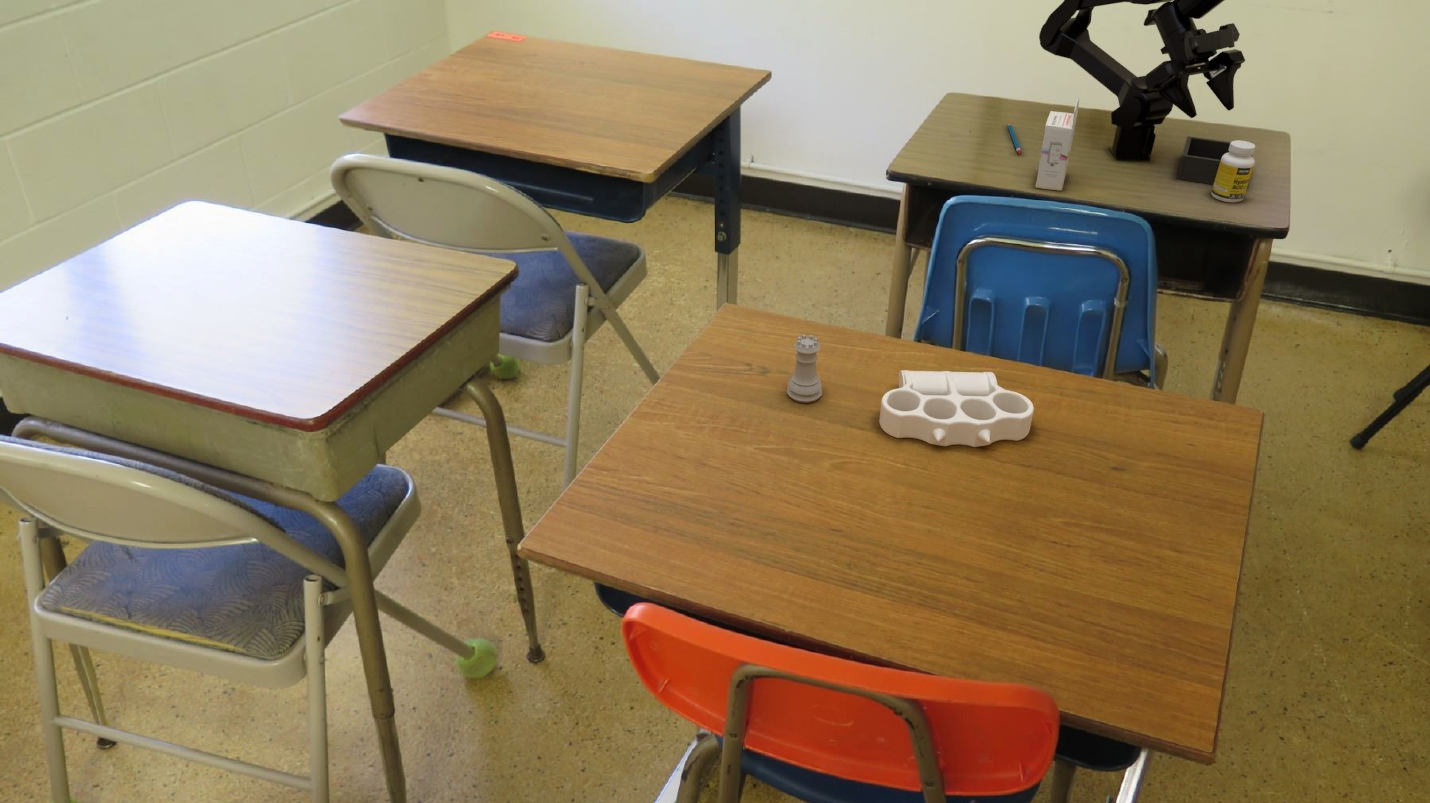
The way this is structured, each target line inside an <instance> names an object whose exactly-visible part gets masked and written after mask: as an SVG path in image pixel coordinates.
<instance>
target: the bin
mask: <svg viewBox="0 0 1430 803" xmlns="http://www.w3.org/2000/svg"><path fill="white" fill-rule="evenodd" d="M1231 142H1232V141H1225V140H1217V139H1211V138H1203V137H1196V136H1189V135H1188V136H1187V137H1186V141H1185V144H1184V148H1183V152H1182V155H1181V158H1180V163H1179V167H1178V171H1177V174H1176V180H1179V181H1187V182H1193V183H1200V184H1207V185H1212V186H1213V185H1214V181H1215V178H1216V175H1217V171H1218V168H1219V164H1220V161H1221V158H1222V156H1223V155H1224V154H1226V153H1228V152H1229V146H1230V143H1231ZM1251 156H1252V157H1253V155H1251Z"/></svg>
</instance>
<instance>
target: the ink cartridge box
mask: <svg viewBox="0 0 1430 803" xmlns="http://www.w3.org/2000/svg"><path fill="white" fill-rule="evenodd" d="M1079 105H1080V97H1078V98H1077V100H1076V103H1075V107H1074V109H1073V113H1072V112H1065V111H1053V110H1051V111H1050V112H1049V114H1048V117H1047V119H1046V122H1045V126H1044V132H1043V134H1044V135H1043V138H1042V139H1043V140H1042V144H1041V145H1042V146H1041V153H1040V158H1039V163H1038V169H1037V170H1038V171H1037V176H1036V182H1035V188H1036V189H1043V190H1051V191H1059V192H1061V191H1063V188H1064V183H1065V180H1066V175H1067V170H1068V166H1069V162H1070V161H1069V160H1070V156H1071V150H1072V145H1073V141H1074V134H1075V130H1076V125H1077V119H1078V114H1079Z"/></svg>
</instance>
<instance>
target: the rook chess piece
mask: <svg viewBox="0 0 1430 803" xmlns="http://www.w3.org/2000/svg"><path fill="white" fill-rule="evenodd" d="M818 340H819V339H818V338H817V337H815V336H814V335H811V334H810V335H809V336H808V337H807V334H802V335H801V336H798V337H797V340H796V342H794V344H793V348H794V350H795V351H796V354H795V355H794V358H795V360H796V363H795V368H794V373H793V374H792V375H791V377H790V379H789V380H788V382H787V388H786V393H787V394H788V396H789V397H790V399H791V400H792V401H794V402H797V403H801V404H809V403H813V402H816V401H817V400H819V398H820V397H821V396H822V394H823V390H822V388H823V384H822V381H821V380H820V376H819V375H818V373H817V372H818V371H817V361H818V359H819V356H818V355H817V353H818V352H819V351H820V350H821V345H820V343H819V342H818Z"/></svg>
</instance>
